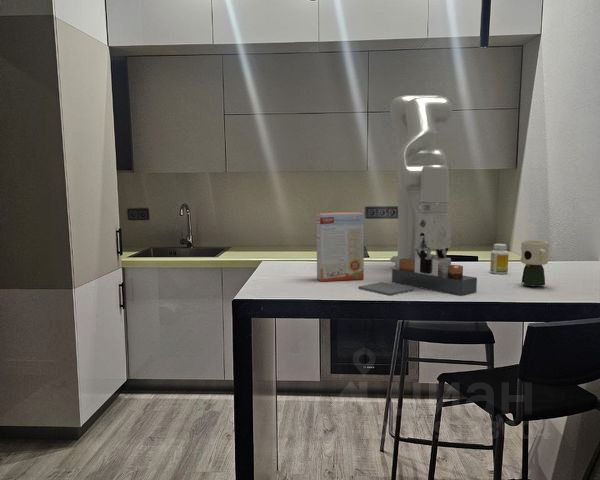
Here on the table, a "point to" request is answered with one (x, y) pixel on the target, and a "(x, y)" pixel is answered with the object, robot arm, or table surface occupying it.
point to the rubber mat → (386, 288)
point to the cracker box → (340, 246)
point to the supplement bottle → (499, 259)
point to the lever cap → (435, 265)
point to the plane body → (435, 278)
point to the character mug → (534, 261)
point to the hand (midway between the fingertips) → (432, 271)
